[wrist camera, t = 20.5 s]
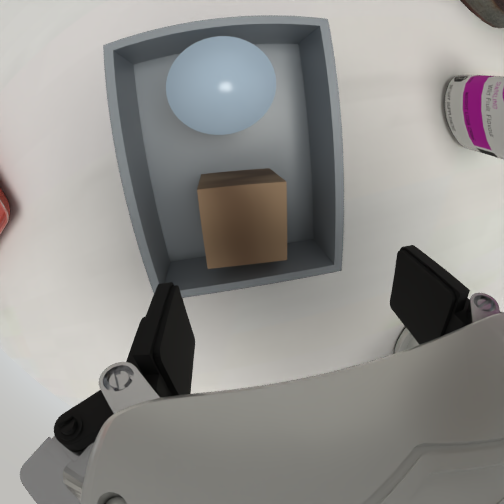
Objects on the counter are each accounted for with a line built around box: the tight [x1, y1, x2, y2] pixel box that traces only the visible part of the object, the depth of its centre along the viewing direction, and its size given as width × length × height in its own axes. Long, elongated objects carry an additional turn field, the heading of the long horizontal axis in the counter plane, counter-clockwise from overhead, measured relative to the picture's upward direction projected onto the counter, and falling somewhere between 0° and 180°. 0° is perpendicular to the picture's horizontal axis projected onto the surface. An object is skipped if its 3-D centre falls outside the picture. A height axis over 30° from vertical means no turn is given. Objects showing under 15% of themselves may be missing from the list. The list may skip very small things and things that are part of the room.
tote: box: [103, 16, 344, 298], centre depth 17 cm, size 17×13×5 cm
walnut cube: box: [197, 168, 287, 269], centre depth 18 cm, size 5×5×5 cm
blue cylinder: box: [166, 36, 276, 135], centre depth 13 cm, size 5×5×7 cm
